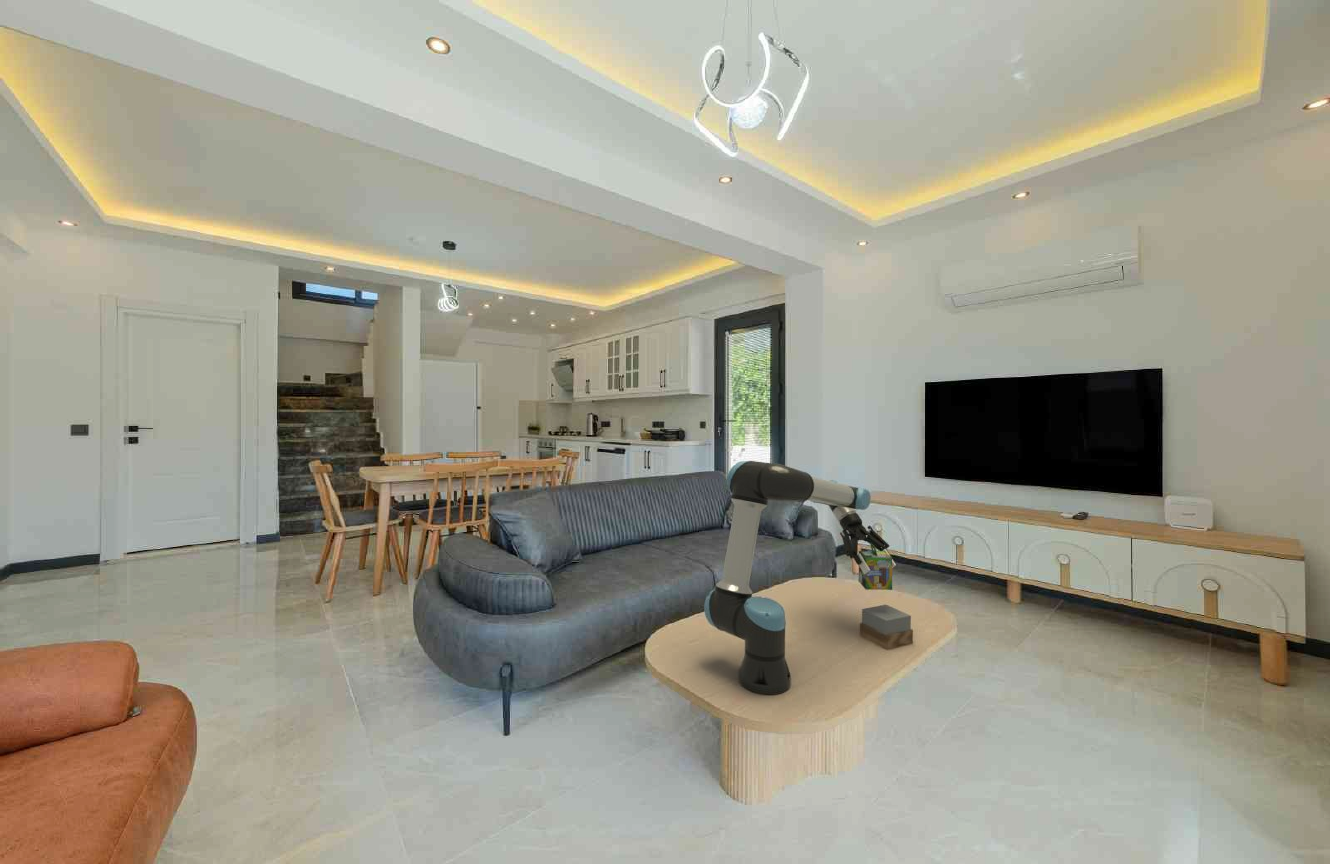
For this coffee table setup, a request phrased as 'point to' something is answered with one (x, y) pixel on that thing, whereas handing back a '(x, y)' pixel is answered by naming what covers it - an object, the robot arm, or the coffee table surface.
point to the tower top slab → (886, 619)
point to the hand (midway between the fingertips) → (880, 569)
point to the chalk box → (876, 570)
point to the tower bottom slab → (886, 637)
